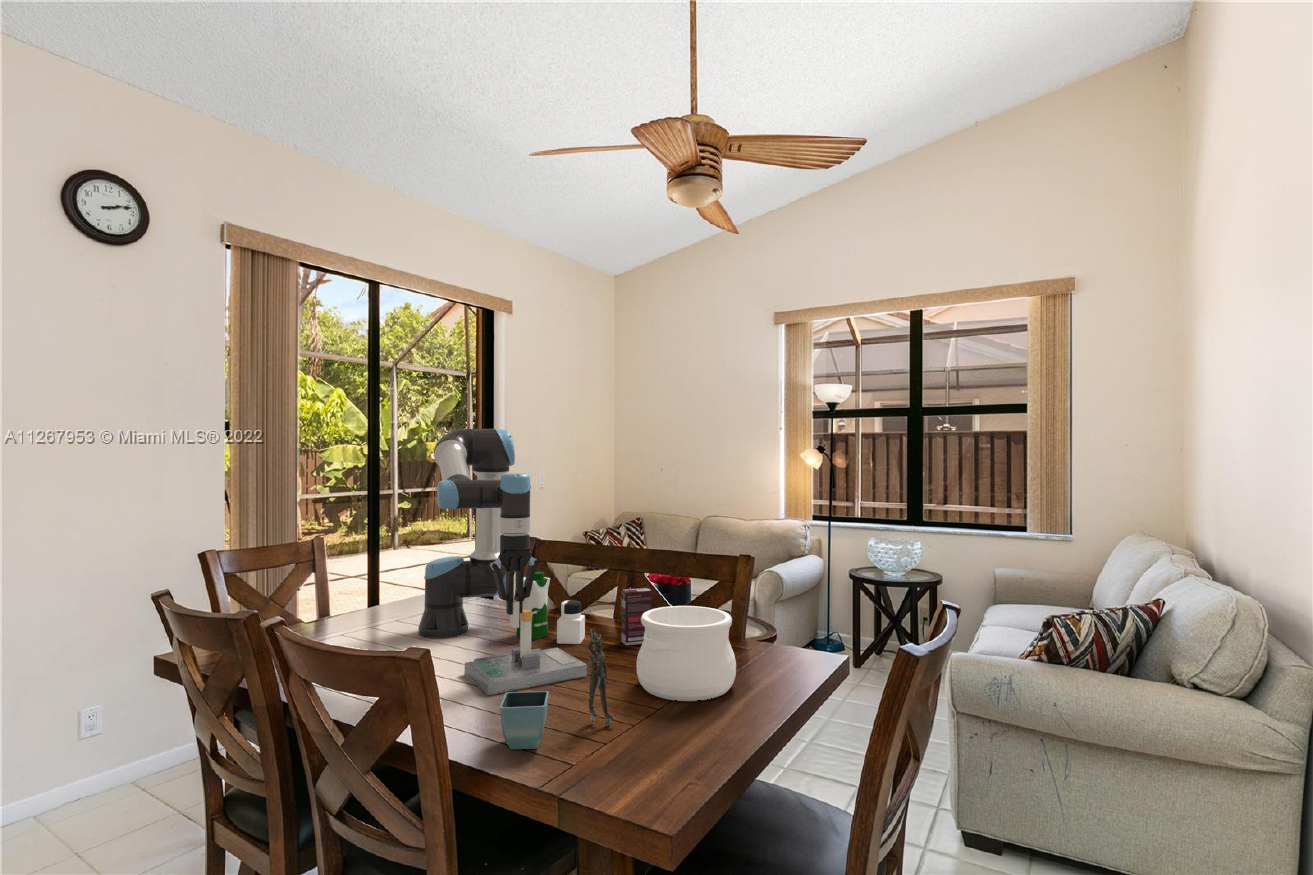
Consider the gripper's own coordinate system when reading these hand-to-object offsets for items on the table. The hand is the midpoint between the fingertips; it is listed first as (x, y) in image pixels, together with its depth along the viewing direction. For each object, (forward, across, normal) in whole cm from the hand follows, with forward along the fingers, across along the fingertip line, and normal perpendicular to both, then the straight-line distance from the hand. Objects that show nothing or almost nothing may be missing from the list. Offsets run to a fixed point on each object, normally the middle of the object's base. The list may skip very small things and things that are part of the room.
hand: (514, 626), depth 176 cm
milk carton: (+13, +19, +34) cm, 41 cm away
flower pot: (+13, -13, -39) cm, 43 cm away
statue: (+13, +4, -39) cm, 41 cm away
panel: (+13, +3, 0) cm, 13 cm away
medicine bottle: (+13, +27, +23) cm, 38 cm away
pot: (+13, +33, -29) cm, 46 cm away
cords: (+13, +3, +11) cm, 17 cm away
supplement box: (+13, +43, +11) cm, 46 cm away
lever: (+8, +3, 0) cm, 9 cm away
